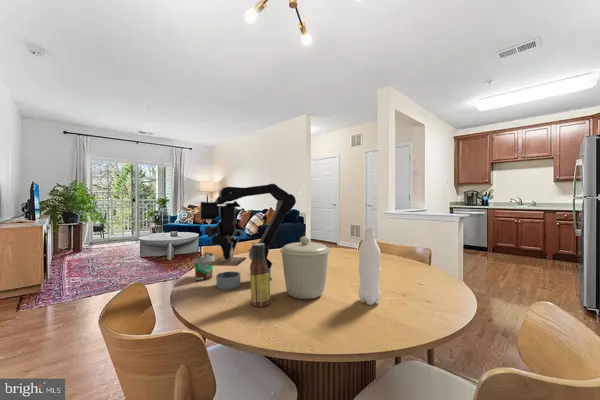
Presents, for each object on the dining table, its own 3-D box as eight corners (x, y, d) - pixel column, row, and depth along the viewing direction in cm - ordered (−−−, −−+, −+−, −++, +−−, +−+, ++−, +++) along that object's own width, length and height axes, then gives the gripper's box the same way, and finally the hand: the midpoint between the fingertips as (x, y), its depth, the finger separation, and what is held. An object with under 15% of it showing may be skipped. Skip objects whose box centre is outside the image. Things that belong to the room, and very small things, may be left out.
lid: (246, 258, 112) (245, 245, 112) (237, 266, 101) (236, 251, 101) (220, 258, 113) (220, 245, 113) (208, 265, 102) (208, 250, 102)
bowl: (243, 282, 111) (243, 271, 111) (235, 290, 102) (235, 278, 102) (221, 281, 112) (221, 271, 112) (212, 289, 103) (212, 277, 103)
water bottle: (368, 308, 86) (368, 229, 86) (354, 300, 92) (354, 227, 92) (385, 303, 89) (385, 228, 89) (370, 296, 96) (370, 225, 95)
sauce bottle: (273, 301, 92) (273, 242, 91) (265, 309, 86) (264, 246, 85) (256, 299, 94) (255, 241, 93) (246, 306, 88) (246, 245, 87)
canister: (328, 306, 88) (328, 241, 87) (274, 302, 91) (274, 239, 90) (331, 287, 106) (331, 233, 105) (286, 284, 109) (285, 232, 108)
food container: (209, 282, 111) (208, 258, 111) (194, 282, 112) (193, 258, 111) (218, 274, 124) (218, 252, 124) (205, 273, 124) (205, 252, 124)
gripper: (217, 216, 117) (218, 252, 117) (196, 221, 98) (197, 263, 99) (242, 216, 116) (243, 253, 116) (226, 221, 97) (227, 264, 98)
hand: (228, 258), depth 107 cm, fingers closed on lid, 3 cm apart
